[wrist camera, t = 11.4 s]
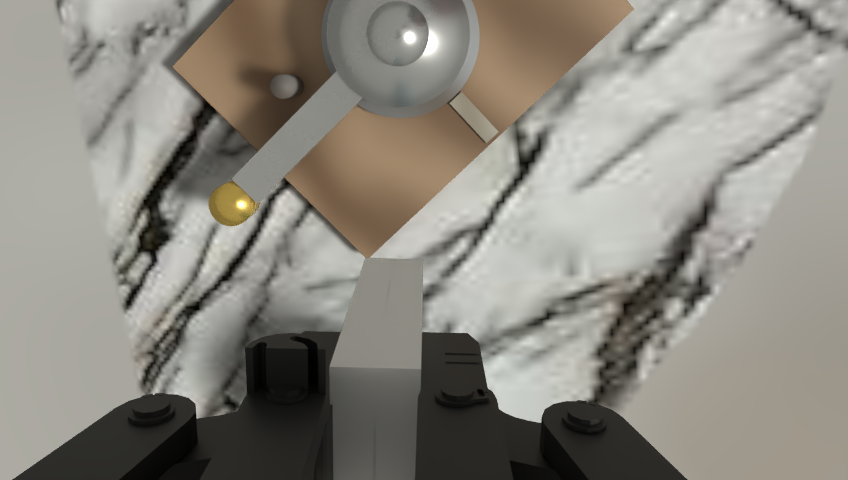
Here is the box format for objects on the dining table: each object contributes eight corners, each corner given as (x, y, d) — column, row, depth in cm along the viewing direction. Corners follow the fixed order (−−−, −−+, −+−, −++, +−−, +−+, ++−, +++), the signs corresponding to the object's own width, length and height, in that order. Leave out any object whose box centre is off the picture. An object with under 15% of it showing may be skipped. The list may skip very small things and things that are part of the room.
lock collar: (494, 39, 35) (501, 36, 32) (274, 254, 38) (261, 270, 35) (401, -65, 34) (398, -79, 31) (181, 165, 37) (159, 174, 34)
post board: (439, -214, 34) (441, -250, 30) (627, 11, 37) (651, 3, 33) (180, 67, 38) (151, 66, 34) (369, 253, 40) (363, 273, 36)
